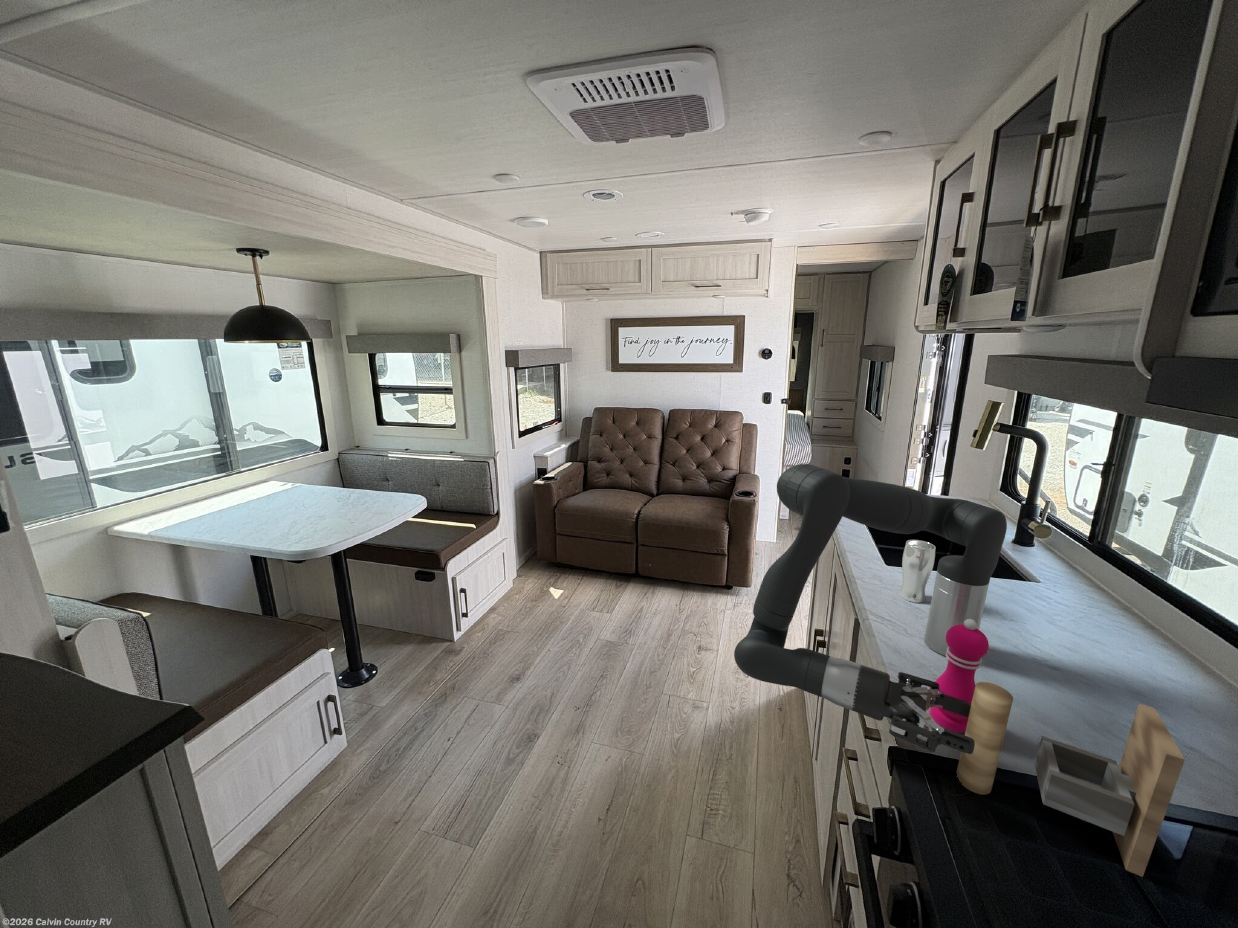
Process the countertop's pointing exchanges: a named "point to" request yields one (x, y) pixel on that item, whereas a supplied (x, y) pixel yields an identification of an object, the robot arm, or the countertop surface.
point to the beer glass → (916, 569)
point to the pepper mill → (960, 671)
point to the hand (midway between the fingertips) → (972, 728)
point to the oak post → (984, 736)
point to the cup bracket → (1116, 785)
